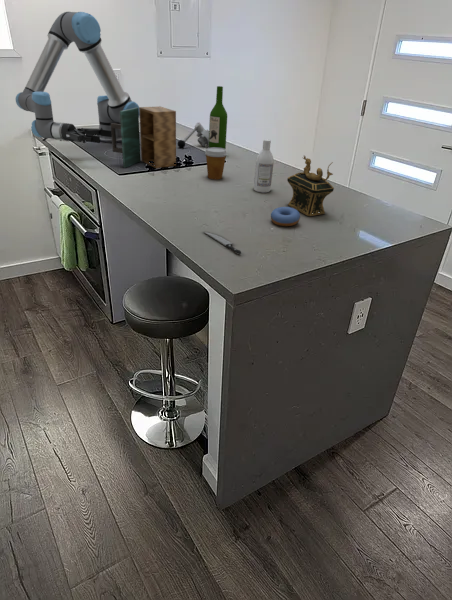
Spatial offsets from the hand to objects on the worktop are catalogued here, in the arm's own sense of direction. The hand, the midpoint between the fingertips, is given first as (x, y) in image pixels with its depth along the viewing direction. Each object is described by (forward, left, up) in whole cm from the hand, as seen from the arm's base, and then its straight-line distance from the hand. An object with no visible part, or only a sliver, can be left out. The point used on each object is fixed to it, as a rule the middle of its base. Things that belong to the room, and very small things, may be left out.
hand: (107, 136), depth 193 cm
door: (+8, +1, -12) cm, 14 cm away
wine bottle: (+52, +24, -12) cm, 59 cm away
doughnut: (+66, -71, -12) cm, 98 cm away
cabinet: (+22, +3, -12) cm, 26 cm away
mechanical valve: (+42, +41, -12) cm, 60 cm away
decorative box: (+78, -59, -12) cm, 99 cm away
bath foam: (+65, -35, -12) cm, 75 cm away
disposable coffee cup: (+47, -18, -12) cm, 52 cm away
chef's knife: (+44, -88, -12) cm, 99 cm away
